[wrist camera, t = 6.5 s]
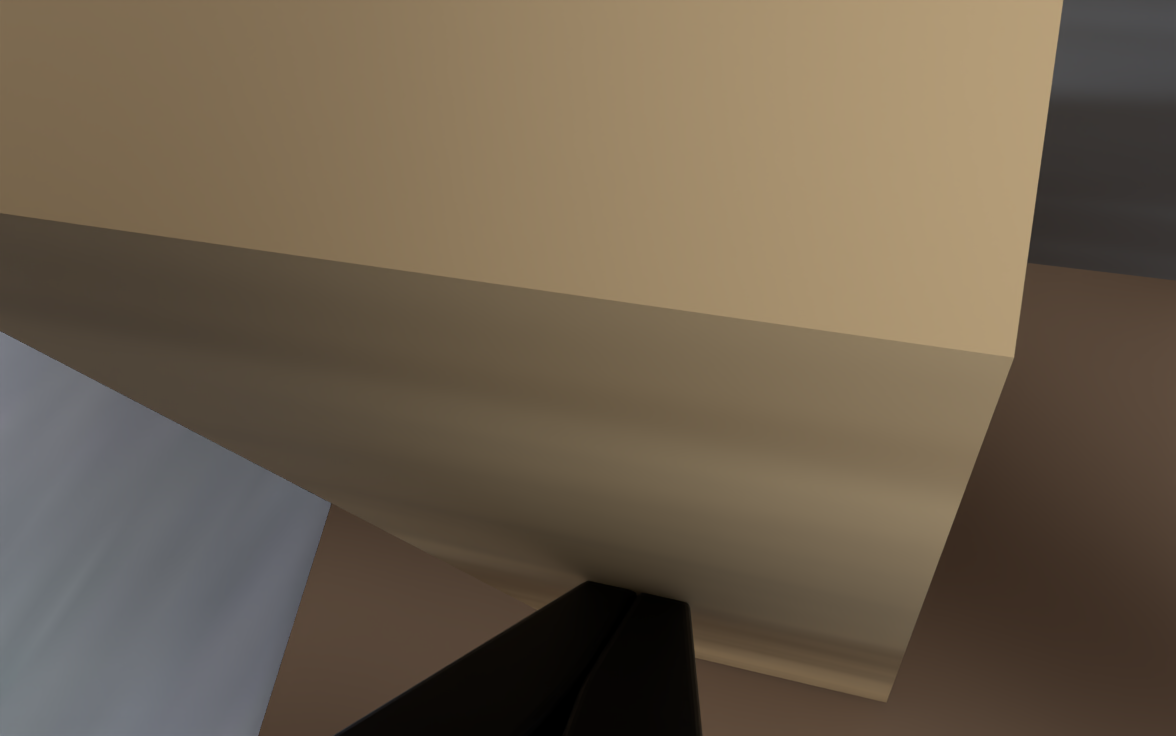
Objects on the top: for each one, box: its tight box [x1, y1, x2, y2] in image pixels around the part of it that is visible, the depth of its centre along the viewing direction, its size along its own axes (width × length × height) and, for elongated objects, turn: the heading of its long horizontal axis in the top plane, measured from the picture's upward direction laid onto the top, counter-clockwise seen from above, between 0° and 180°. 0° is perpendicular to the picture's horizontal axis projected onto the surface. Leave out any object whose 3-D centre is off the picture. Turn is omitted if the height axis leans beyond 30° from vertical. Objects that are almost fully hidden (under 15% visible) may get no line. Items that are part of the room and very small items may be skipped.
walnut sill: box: [258, 0, 1176, 736], centre depth 11 cm, size 18×12×9 cm, turn 166°
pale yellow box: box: [0, 0, 1063, 702], centre depth 10 cm, size 8×4×12 cm, turn 166°
